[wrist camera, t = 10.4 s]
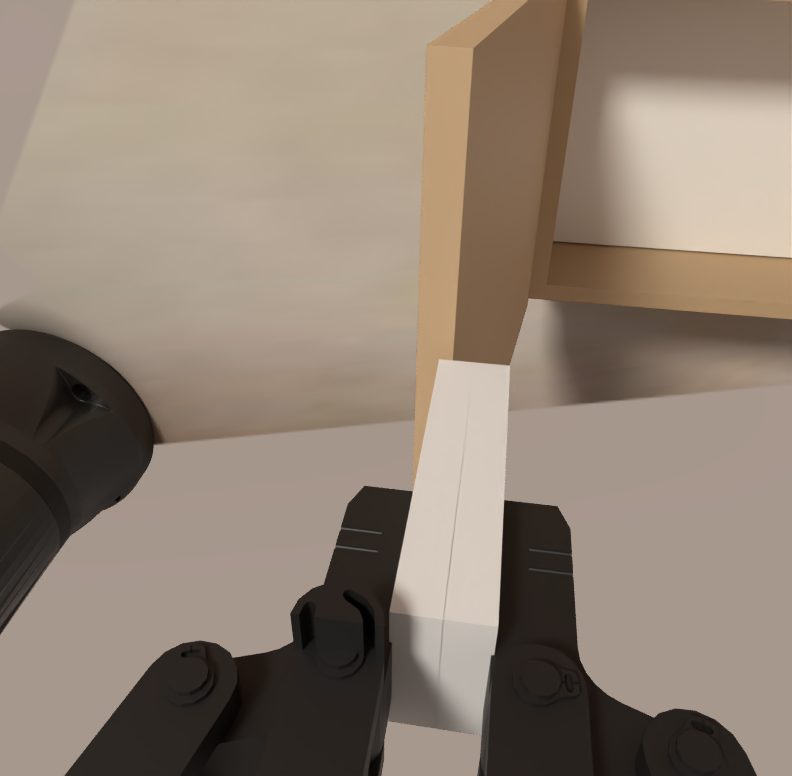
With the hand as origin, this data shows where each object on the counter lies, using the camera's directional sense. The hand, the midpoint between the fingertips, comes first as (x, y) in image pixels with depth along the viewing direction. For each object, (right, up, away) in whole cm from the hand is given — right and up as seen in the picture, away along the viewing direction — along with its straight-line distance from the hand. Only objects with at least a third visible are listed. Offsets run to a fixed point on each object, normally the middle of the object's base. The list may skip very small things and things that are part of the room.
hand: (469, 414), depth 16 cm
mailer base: (+15, +13, +19) cm, 28 cm away
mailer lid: (+2, +5, +8) cm, 10 cm away
